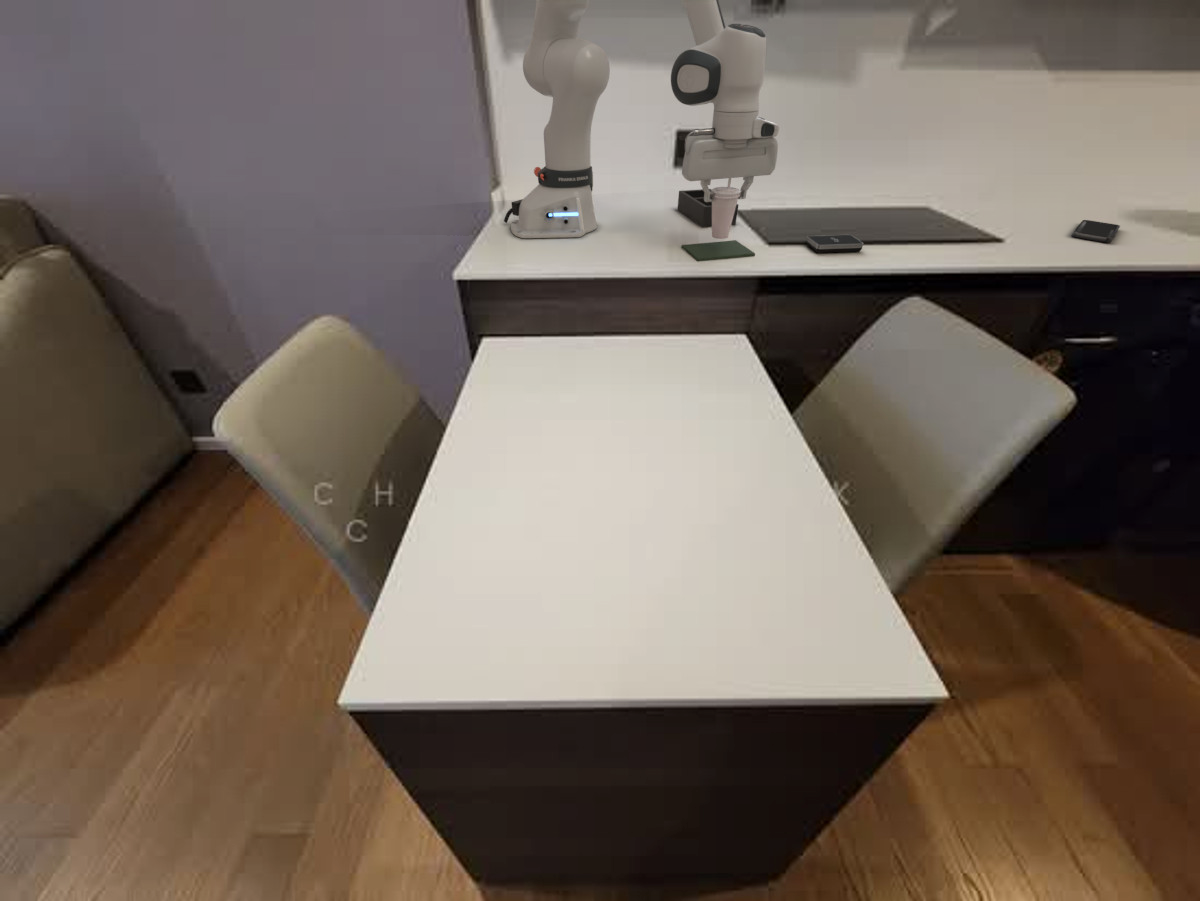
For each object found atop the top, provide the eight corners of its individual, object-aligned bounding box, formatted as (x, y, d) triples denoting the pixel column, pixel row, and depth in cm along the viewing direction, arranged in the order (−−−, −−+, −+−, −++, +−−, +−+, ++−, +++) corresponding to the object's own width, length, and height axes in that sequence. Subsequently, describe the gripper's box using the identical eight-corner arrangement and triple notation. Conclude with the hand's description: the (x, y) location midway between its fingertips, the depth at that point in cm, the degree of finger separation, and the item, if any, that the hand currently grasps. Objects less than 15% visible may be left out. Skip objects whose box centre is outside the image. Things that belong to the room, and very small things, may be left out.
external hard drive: (861, 252, 121) (864, 243, 120) (815, 254, 121) (817, 245, 119) (848, 243, 127) (850, 234, 126) (803, 244, 126) (805, 236, 125)
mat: (697, 261, 117) (697, 258, 117) (681, 247, 125) (681, 244, 124) (754, 255, 120) (755, 253, 119) (735, 242, 127) (735, 240, 127)
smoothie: (736, 240, 118) (746, 171, 109) (707, 240, 118) (715, 171, 109) (731, 231, 123) (740, 164, 114) (703, 231, 123) (711, 165, 114)
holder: (735, 224, 139) (738, 204, 136) (702, 227, 137) (704, 207, 134) (708, 207, 153) (710, 188, 150) (677, 209, 151) (678, 190, 148)
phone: (1073, 232, 129) (1083, 219, 137) (1070, 236, 130) (1081, 223, 138) (1113, 238, 125) (1121, 225, 133) (1110, 243, 125) (1118, 229, 134)
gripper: (692, 132, 102) (685, 207, 111) (786, 126, 106) (773, 199, 115) (680, 127, 107) (675, 200, 116) (771, 121, 111) (759, 192, 120)
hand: (724, 200), depth 116 cm, fingers closed on smoothie, 6 cm apart
